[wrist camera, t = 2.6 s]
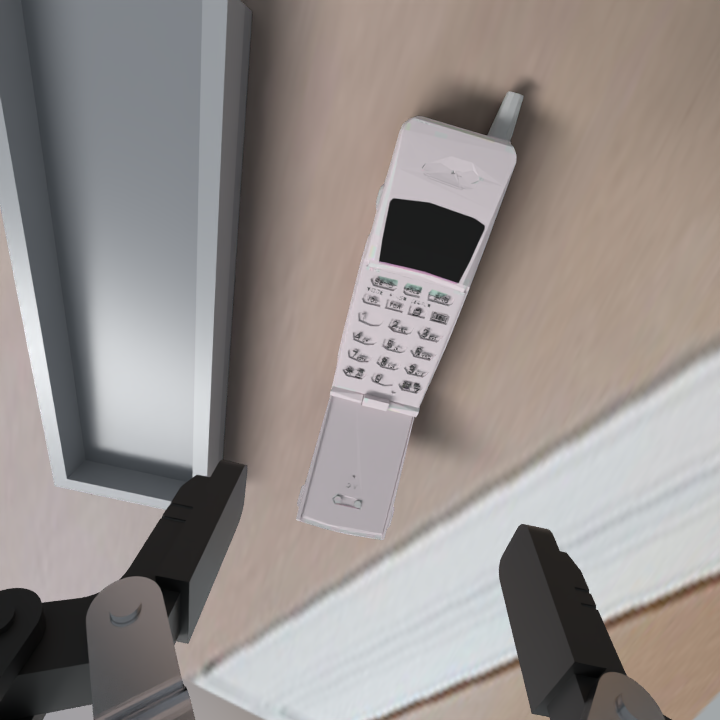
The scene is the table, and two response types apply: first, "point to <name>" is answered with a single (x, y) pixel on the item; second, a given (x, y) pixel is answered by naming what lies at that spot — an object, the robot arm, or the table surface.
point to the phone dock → (125, 229)
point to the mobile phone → (404, 312)
